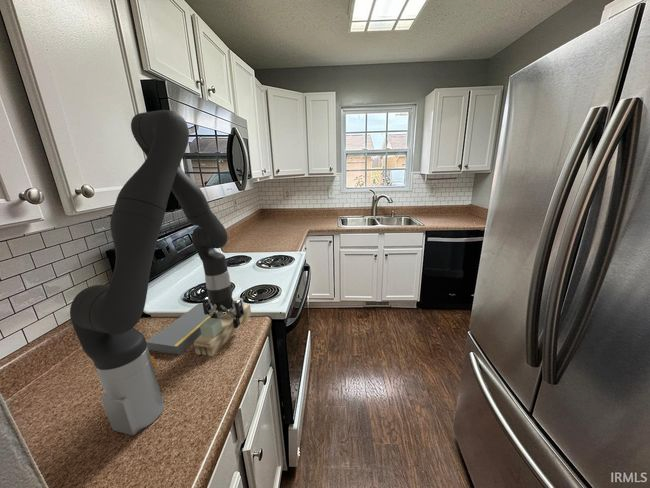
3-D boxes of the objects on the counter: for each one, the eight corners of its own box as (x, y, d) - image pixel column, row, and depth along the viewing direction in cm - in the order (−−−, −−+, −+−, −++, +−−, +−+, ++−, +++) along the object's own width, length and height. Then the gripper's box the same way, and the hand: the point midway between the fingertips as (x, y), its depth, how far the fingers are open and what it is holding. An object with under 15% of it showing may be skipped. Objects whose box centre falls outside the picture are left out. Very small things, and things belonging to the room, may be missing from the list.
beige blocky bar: (212, 357, 80) (210, 344, 79) (196, 354, 82) (193, 341, 80) (251, 315, 103) (249, 304, 101) (237, 313, 104) (236, 303, 103)
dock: (179, 354, 81) (176, 346, 81) (148, 349, 84) (145, 341, 83) (226, 312, 105) (224, 305, 104) (200, 309, 108) (199, 302, 107)
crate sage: (214, 337, 82) (212, 327, 81) (201, 336, 83) (199, 325, 82) (222, 329, 86) (220, 318, 85) (210, 328, 87) (208, 317, 86)
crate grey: (237, 314, 95) (236, 304, 93) (226, 313, 96) (225, 303, 94) (244, 308, 99) (242, 298, 98) (233, 307, 100) (232, 297, 99)
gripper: (192, 287, 85) (201, 329, 90) (231, 290, 82) (238, 334, 87) (207, 278, 92) (215, 317, 97) (243, 280, 89) (249, 321, 94)
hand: (226, 325), depth 92 cm, fingers open, 8 cm apart
